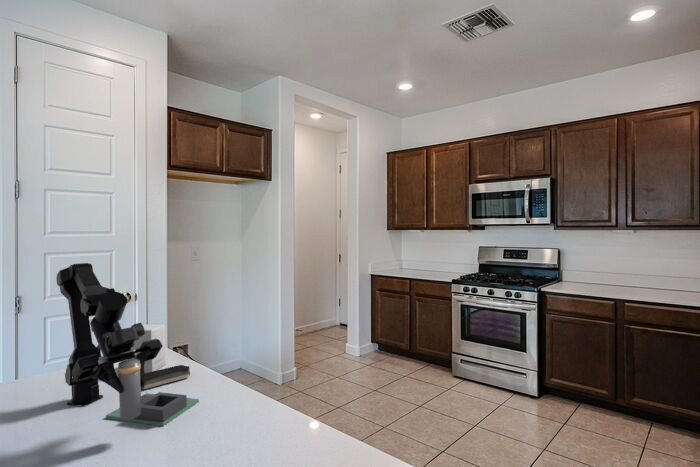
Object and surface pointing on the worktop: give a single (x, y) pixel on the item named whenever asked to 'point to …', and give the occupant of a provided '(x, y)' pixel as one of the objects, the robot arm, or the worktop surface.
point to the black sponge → (165, 376)
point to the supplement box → (152, 333)
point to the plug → (130, 389)
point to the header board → (158, 408)
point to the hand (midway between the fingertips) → (132, 388)
